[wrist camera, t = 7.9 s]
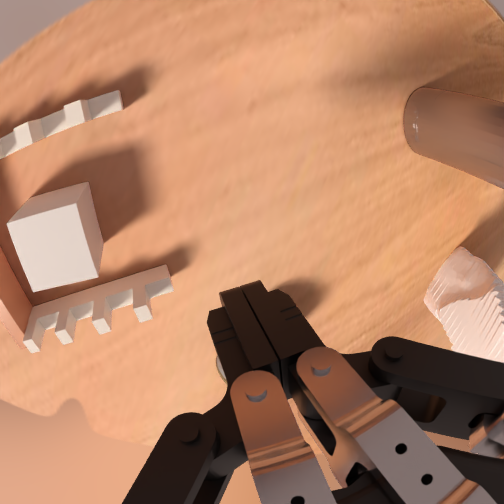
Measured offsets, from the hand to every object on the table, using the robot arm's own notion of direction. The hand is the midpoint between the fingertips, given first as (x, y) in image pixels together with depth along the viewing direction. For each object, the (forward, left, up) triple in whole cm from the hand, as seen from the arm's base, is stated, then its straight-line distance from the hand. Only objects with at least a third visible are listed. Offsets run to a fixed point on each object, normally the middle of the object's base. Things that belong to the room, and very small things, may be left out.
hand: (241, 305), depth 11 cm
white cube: (+11, 0, -18) cm, 21 cm away
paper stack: (-45, +33, -18) cm, 59 cm away
